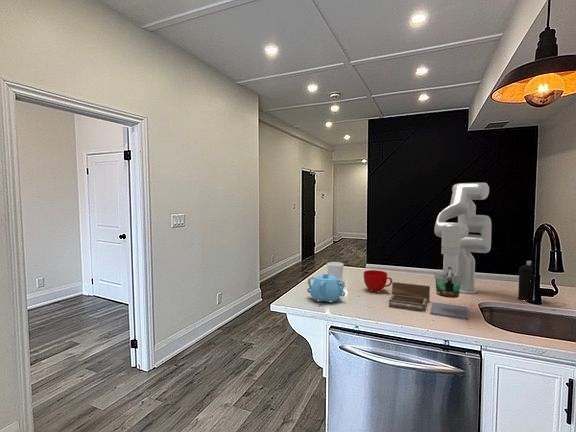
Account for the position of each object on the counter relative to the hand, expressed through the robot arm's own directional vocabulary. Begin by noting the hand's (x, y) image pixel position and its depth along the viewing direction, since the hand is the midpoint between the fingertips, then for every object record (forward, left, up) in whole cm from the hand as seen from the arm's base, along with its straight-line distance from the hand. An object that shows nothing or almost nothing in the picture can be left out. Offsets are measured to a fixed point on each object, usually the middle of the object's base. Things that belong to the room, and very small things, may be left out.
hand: (449, 289), depth 148 cm
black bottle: (-35, +35, -10) cm, 51 cm away
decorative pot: (+9, -57, -11) cm, 59 cm away
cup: (-20, -62, -10) cm, 66 cm away
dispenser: (-2, -18, -10) cm, 21 cm away
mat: (0, 0, -10) cm, 10 cm away
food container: (0, 0, -3) cm, 4 cm away
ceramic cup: (-18, -36, -10) cm, 42 cm away
